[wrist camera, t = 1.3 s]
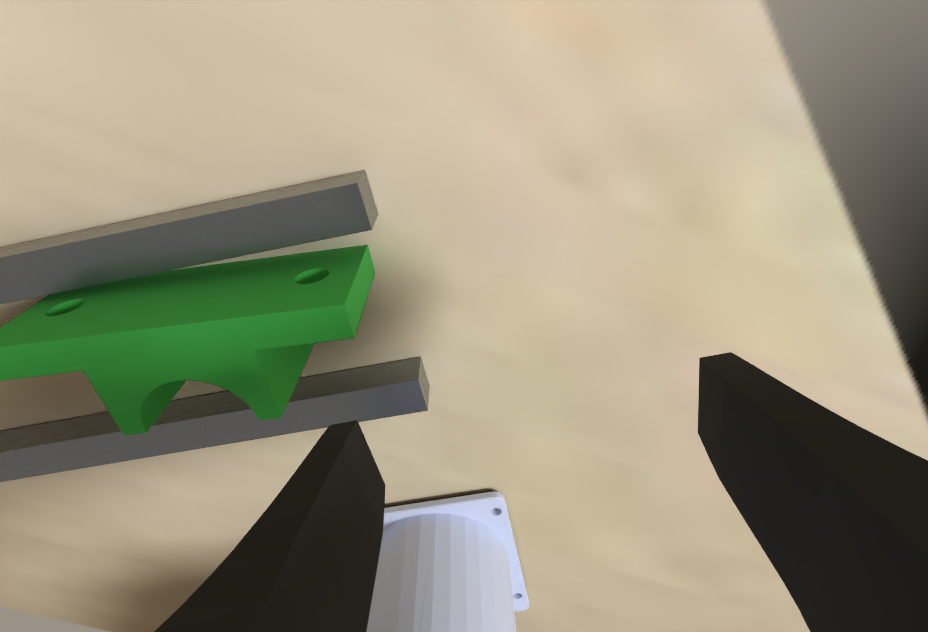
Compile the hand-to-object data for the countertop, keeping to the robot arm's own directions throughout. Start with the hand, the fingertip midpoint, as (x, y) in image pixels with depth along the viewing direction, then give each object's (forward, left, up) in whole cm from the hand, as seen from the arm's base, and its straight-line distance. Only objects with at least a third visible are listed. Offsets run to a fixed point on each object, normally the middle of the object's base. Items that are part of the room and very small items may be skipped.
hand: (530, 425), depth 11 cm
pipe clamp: (0, +10, -9) cm, 13 cm away
